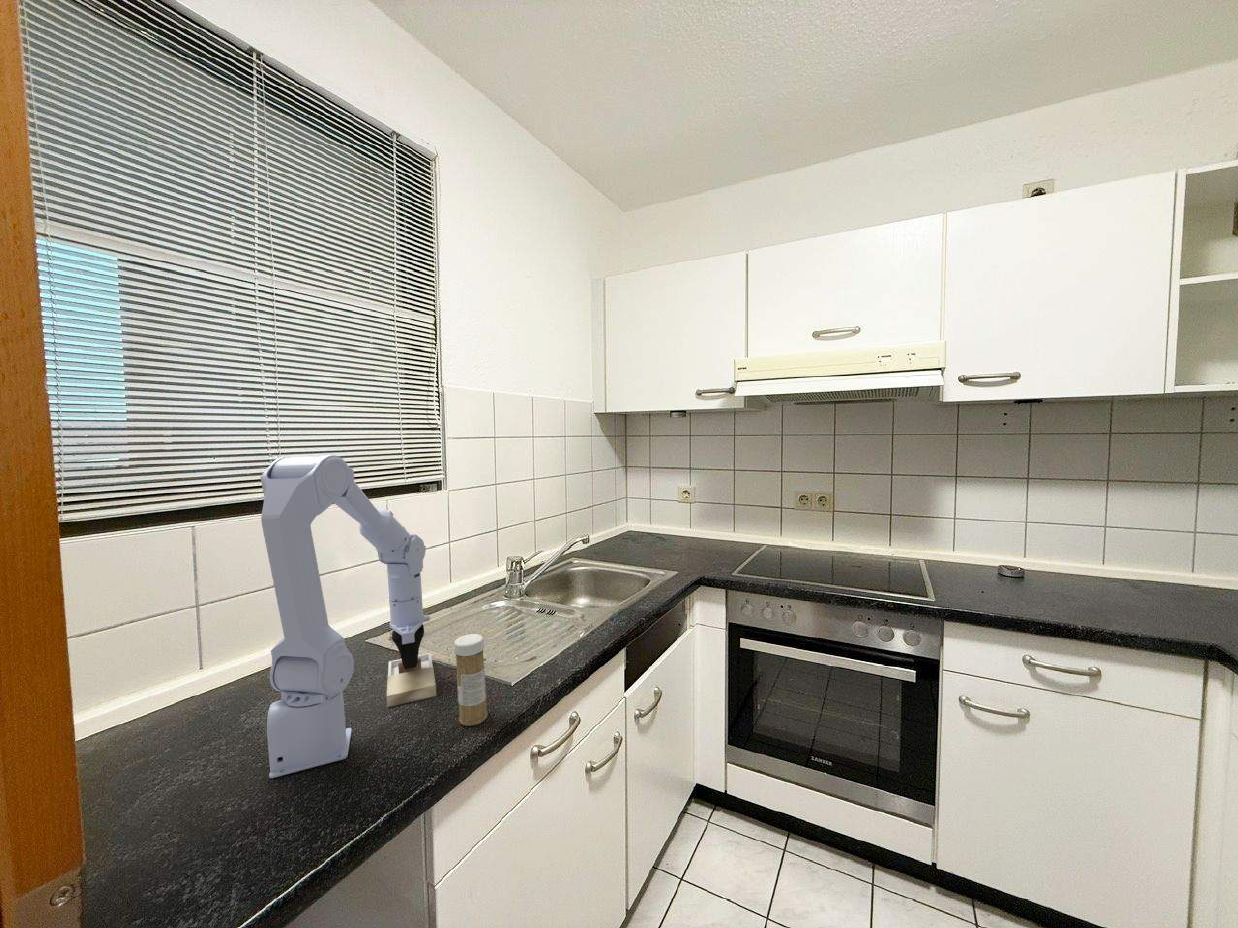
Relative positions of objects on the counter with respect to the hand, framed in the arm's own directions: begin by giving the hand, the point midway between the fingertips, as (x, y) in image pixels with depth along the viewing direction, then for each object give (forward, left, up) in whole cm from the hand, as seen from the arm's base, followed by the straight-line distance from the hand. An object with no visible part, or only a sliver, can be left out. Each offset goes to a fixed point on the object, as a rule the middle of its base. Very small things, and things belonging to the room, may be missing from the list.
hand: (410, 666), depth 95 cm
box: (0, +4, -3) cm, 5 cm away
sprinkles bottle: (+9, -20, -3) cm, 22 cm away
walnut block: (0, +2, -2) cm, 3 cm away
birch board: (0, -5, -3) cm, 5 cm away
